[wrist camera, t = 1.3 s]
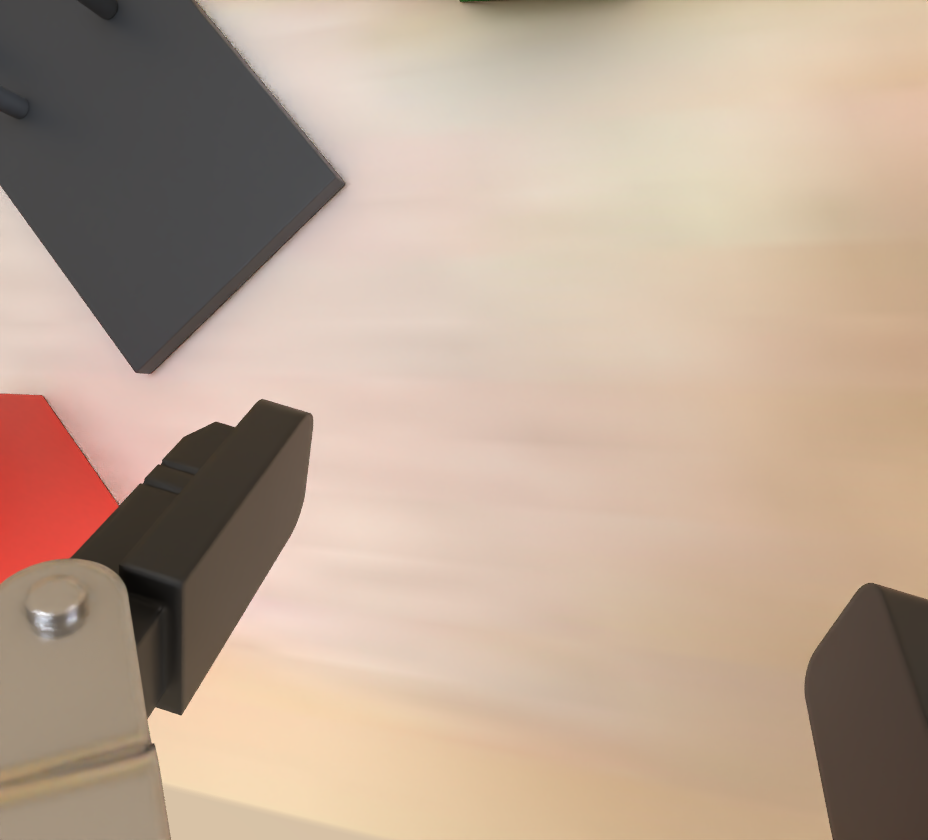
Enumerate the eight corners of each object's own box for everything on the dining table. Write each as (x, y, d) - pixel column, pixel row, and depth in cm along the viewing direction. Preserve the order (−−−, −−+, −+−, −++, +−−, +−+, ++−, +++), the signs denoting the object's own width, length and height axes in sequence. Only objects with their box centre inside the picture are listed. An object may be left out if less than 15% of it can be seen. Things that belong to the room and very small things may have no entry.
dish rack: (59, -165, 35) (-37, -258, 31) (346, 184, 32) (288, 141, 27) (-101, 29, 38) (-214, -29, 33) (150, 374, 34) (65, 367, 29)
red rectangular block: (42, 394, 36) (-161, 385, 27) (189, 607, 34) (22, 672, 25) (12, 425, 36) (-198, 426, 27) (155, 636, 34) (-21, 710, 25)
